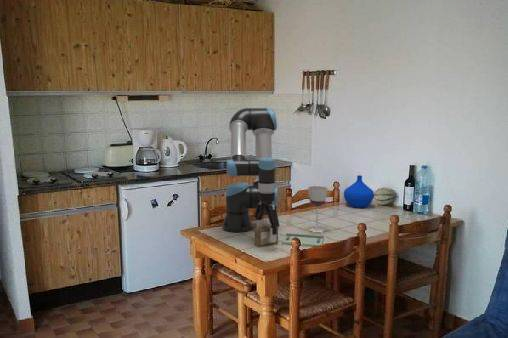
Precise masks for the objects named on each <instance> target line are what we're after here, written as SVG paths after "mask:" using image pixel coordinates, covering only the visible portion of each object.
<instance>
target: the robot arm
mask: <svg viewBox="0 0 508 338" xmlns="http://www.w3.org/2000/svg"><path fill="white" fill-rule="evenodd" d="M277 122H278V121H277V116H276V111H275V110H274V109H273V108H269V107H268V108H267V107H264V108H263V107H262V108H261V107H260V108H259V107H255V108H253V107H252V108H251V107H250V108H249V107H246V108H241V109H240V110H238V111H236V113H234V114H233V115H232V117H231V119H230V121H229V125H228V126H229V131H230V159H227V160H226V175H227V176H234V177H240V176H241V177H244V176H249V177H250V176H251V177H253V176H255V180H254V181H252V185H250V184H249V183H248V182H236V183H235V182H234V183H232V184H229V185H227V187H226V188H225V217H224V219H223V223H222V230H224V231H226V232H227V233H228V232H230V233H245V232H249V231H252V229H253V223H252V219H251V217H250V214H249V213H250V210H251V209H252V210H254V209H255V212H254V218H255V219H256V228H258V227H264V225H263V224H264V223H263V222H264V215H265V214H266V215H267V217H268V220H269V224H270V226H271V227H270V242H274V241H276V231H277V227H278V228H279V227H280V221H279V216H278V212H277V203H278V196H279V185H276V159H275V158H274V157H273V151H272V150H273V148H272V136H273V135H274V134H275V131H276V130H277V129H278V124H277ZM247 131H251V133H252V135H254V139H255V140H254V141H255V142H254V143H255V144H254V145H255V152H254V153H255V159H247Z"/></svg>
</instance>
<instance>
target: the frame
mask: <svg viewBox="0 0 508 338" xmlns="http://www.w3.org/2000/svg"><path fill="white" fill-rule="evenodd" d="M270 227H271V225H267V226H263V227H258V228H257V227H254V246H256V247H257V246H258V247H257V248H263V247H269V245H270V246H275V245H278V244H279V227H277V231H276V241H274V242H270Z"/></svg>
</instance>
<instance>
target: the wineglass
mask: <svg viewBox="0 0 508 338" xmlns="http://www.w3.org/2000/svg"><path fill="white" fill-rule="evenodd" d="M307 189H308V198H309V202H310V203H311V204H312V205H313V206H314V207H316V212H315V214H316V215H315V227H311V228H312V229H311V228H309V229H310V230H311V231H313V232H312V233H314V232H321V233H324V232H325V231H324V230H325V228H321V229H320V227H318V226H319V225H318V224H319V207H320V206H322V205H324V204H325V203H326V200H327V195H328V187H325V186H318V185H314V186H312V185H311V186H308V188H307ZM323 231H324V232H323Z"/></svg>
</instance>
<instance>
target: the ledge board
mask: <svg viewBox="0 0 508 338" xmlns="http://www.w3.org/2000/svg"><path fill="white" fill-rule="evenodd" d="M294 237H297V238H299V239H300V240H301V243H302V245H301V246H300V247H309V246H319V245H322V246H323V242H324V240H325V239H324V235H315V234H314V235H313V234H301V233H300V234H299V233H289V232H287V233H286V234H285V237H284V238H283V240H282V242H281V245H287V246H291V245H290V241H291V239H292V238H294Z"/></svg>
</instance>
